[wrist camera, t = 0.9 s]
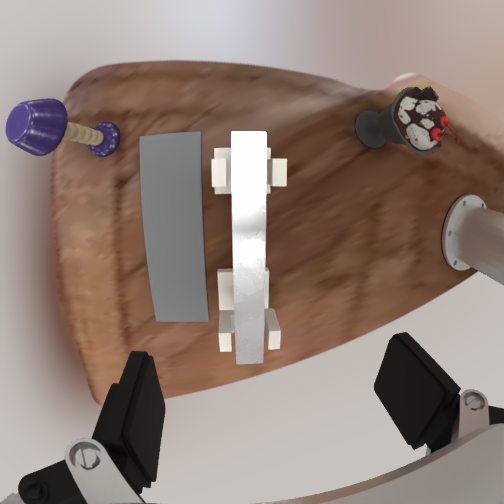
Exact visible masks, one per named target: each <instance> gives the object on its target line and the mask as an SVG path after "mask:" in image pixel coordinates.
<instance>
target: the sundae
mask: <svg viewBox="0 0 504 504" xmlns="http://www.w3.org/2000/svg"><path fill="white" fill-rule="evenodd" d="M438 98H439V97H438V95H437V94H436V93H435V91H434V90H433V89H432V88H431V87H427V88H425V89H423V90H420V89H419V88H418V87H414V88H413V87H409V88H405V89H403V90H402V91H401V92H400V93H399V94H398V95H397V97H396V99H395V101H394V103H392V104H390V105H389V106H387V107H386V108H385V109H384V110H383V111H381V113H380V114H379V113H378V112H376V111H373V110H365V111H363V112H361V113H360V114H359V115H358V116H357V118H356V122H355V130H356V133H357V136H358V138H359V139H360V140H361V142H362V143H363V144H365V145H366V146H368V147H371V148H378V147H380V146H382V145H383V144H384V143H385V142H386V141H387V140H389V141H391V142H394V143H398V144H405V145H407V146H408V147H409V148H410V149H411V150H412V151H413V152H415V153H417V154H419V155H428V154H431V153H433V152H435V151H436V150H437V149H438V148H439V147H441V144H442V140H443V134H446V135H449V136H451V137H453V136H452V135H450V134H448V133H445V132H443V131H444V129H447V128H449V129H450V131H452V130H451V128H450V127H449V126H450V121H449V119H448V118H447V117H446V115H445V112H444V110H443V109H442V108H441V107H440V106H439V105H438V104H437V103H436V101H437V100H438ZM452 132H453V131H452ZM453 133H454V132H453ZM454 134H455V133H454ZM455 135H456V134H455ZM456 136H457V135H456ZM453 138H454V139H455V140H456V142H457V144H459V143H460V136H457V139H456V138H455V137H453Z"/></svg>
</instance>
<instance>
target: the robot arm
mask: <svg viewBox="0 0 504 504" xmlns="http://www.w3.org/2000/svg"><path fill="white" fill-rule="evenodd" d="M442 249H443V254H444V257H445V259H446V261H447V263H448V264H449V265H450V266H451V267H452V268H454V269H456V270H460V271H463V270H467V269H469V268H471V267H472V268H474V269H476V270H478V271H480V272H482V273H483V274H485V275H487V276H489V277H490V278H492V279H494V280H496V281H498V282H499V283H501V284H503V285H504V214H503V213H500V212H497V211H494V210H490V209H487V207H486V205H485V203H484V202H483V200H482V199H481V198H479V197H478V196H475V195H471V194H467V195H463V196H461V197H460V198H459V199H457V200H456V201H455V203H454V204H453V205H452V207H451V209H450V210H449V212H448V215H447V217H446V220H445V224H444V228H443V234H442ZM460 390H461V388H460V387H459V386H458V385H457V384H456V383H455V382H454V381H453V379H451V377H450V376H449V375H448V374H447V373H446V372H445V371H444V370H443V369H442V368H441V367H440V366H439V365H438V364H437V362H436V361H435V360H434V359H433V358H432V357H431V356H430V355H429V354H428V353H427V352H426V351H425V350H424V349H423V348H422V347H421V346H420V345H419V344H418V343H417V342H416V341H415V340H414V339H413V338H412V337H411V336H410V335H409V334H408V333H407V332H403V333H399V334H395V335H393V336H392V338H391V339H390V340H389V343H388V346H387V349H386V352H385V355H384V358H383V361H382V364H381V367H380V370H379V373H378V375H377V378H376V381H375V383H374V391H375V393H376V394H377V396H378V397H379V399H380V400H381V402H382V404H383V405H384V407H385V409H386V410H387V412H388V413H389V415H390V416H391V418H392V420H393V421H394V423H395V425H396V426H397V428H398V429H399V431H400V433H401V434H402V436H403V438H404V439H405V441H406V443H407V444H408V445H411V446H412V448H413V449H414V450H415V449H417V448H419V447H421V446H423V445H424V444H425V443H426V444H427V450H426V455H425V457H423V458H421V459H419V460H417V461H415V462H413V463H410V464H408V465H406V466H404V467H401V468H399V469H396V470H394V471H391V472H389V473H386V474H383V475H381V476H378V477H375V478H373V479H369V480H367V481H363V482H360V483H357V484H354V485H351V486H347V487H344V488H340V489H336V490H333V491H328V492H324V493H320V494H315V495H311V496H306V497H300V498H295V499H289V500H282V501H275V502H267V503H257V504H504V409H503V408H498V407H493V406H488V402H487V399H486V397H485V396H484V395H483V394H482V393H481V392H479V391H477V390H473V389H469V390H465V391H464V392H463V393H462V394H461V396H460V395H459V394H458V393H459V391H460ZM164 417H165V402H164V399H163V395H162V391H161V388H160V384H159V380H158V376H157V372H156V368H155V364H154V359H153V357H152V356H148V353H147V352H142V351H132V352H131V353H130V356H129V358H128V361H127V363H126V366H125V368H124V371H123V374H122V376H121V379H120V381H119V384H117V383H113V384H112V385H111V387H110V389H109V392H108V394H107V397H106V400H105V402H104V405H103V408H102V410H101V413H100V416H99V419H98V421H97V424H96V427H95V430H94V433H93V436H92V439H90V438H82V439H77V440H75V441H73V442H71V443H70V444H69V446H68V447H67V449H66V451H65V460H62V461H60V462H58V463H55V464H53V465H51V466H48V467H46V468H43V469H41V470H38V471H36V472H33V473H30V474H28V475H26V476H24V477H23V478H22V479H21V481H20V483H19V485H18V491H19V492H18V493H17V494H14V493H12V494H11V495H9V496H8V497H7V498H6V499H4V500H3V501H2V502H1V503H0V504H155V503H146V502H145V501H144V500H143V498H142V497H141V496H140V495H139V494H141V493H142V489H143V487H146V488H150V487H151V482H155V481H156V477H157V468H158V460H159V452H160V444H161V437H162V430H163V423H164Z"/></svg>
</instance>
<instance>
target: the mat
mask: <svg viewBox="0 0 504 504" xmlns="http://www.w3.org/2000/svg"><path fill="white" fill-rule="evenodd" d="M140 179H141V199H142V214H143V226H144V237H145V247H146V256H147V264H148V272H149V279H150V286H151V292H152V299H153V305H154V311H155V316H156V321H165V322H209V312H208V300H207V286H206V270H205V253H204V233H203V207H202V163H201V131H199V132H182V133H169V134H159V135H149V136H140Z"/></svg>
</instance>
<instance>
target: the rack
mask: <svg viewBox="0 0 504 504" xmlns="http://www.w3.org/2000/svg"><path fill="white" fill-rule="evenodd" d="M270 185H271V186H286V185H287V159H271V148H266V193H270ZM212 187H215V194H232V180H231V148H214V159H212ZM218 292H219V310H220V316H219V343H220V352H225V351H231V333H235V318H234V287H233V268H228V269H218ZM268 296H269V269H268V267H265V309H264V331H265V335H266V340H267V344H268V349H269V350H270V349H280V337H281V329H280V326H279V323H278V320H277V317H276V313H275V310H274V309H267V308H268Z"/></svg>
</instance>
